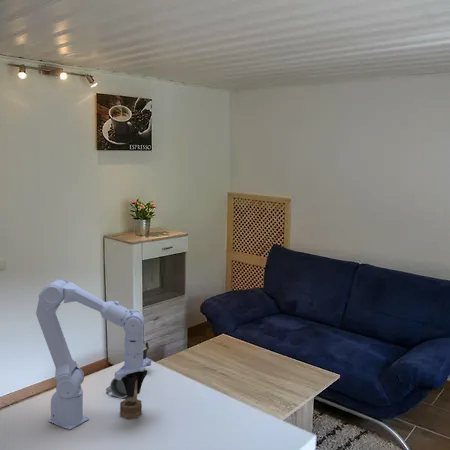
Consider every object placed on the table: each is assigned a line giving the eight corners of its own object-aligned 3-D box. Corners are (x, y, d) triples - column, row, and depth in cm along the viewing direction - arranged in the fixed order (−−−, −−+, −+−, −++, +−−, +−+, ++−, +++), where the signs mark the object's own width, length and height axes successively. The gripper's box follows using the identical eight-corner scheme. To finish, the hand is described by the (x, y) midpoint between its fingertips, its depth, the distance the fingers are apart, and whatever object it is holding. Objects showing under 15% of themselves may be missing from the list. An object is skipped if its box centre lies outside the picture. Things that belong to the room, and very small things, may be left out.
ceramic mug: (139, 390, 173) (139, 369, 172) (130, 399, 165) (130, 377, 164) (112, 387, 175) (112, 366, 175) (101, 396, 167) (101, 375, 167)
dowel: (128, 400, 149) (128, 377, 148) (133, 398, 151) (133, 374, 150) (133, 402, 148) (133, 378, 147) (138, 400, 150) (138, 376, 149)
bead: (115, 415, 154) (115, 404, 153) (129, 407, 159) (129, 397, 159) (131, 420, 150) (131, 409, 150) (145, 412, 156) (145, 402, 156)
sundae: (128, 376, 185) (129, 338, 184) (134, 369, 191) (135, 332, 190) (145, 377, 184) (145, 339, 183) (150, 371, 190) (151, 334, 189)
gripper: (127, 361, 140) (126, 406, 141) (159, 348, 152) (158, 389, 153) (109, 356, 143) (109, 400, 145) (141, 343, 156) (141, 384, 157)
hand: (133, 394), depth 149 cm, fingers closed on dowel, 2 cm apart
